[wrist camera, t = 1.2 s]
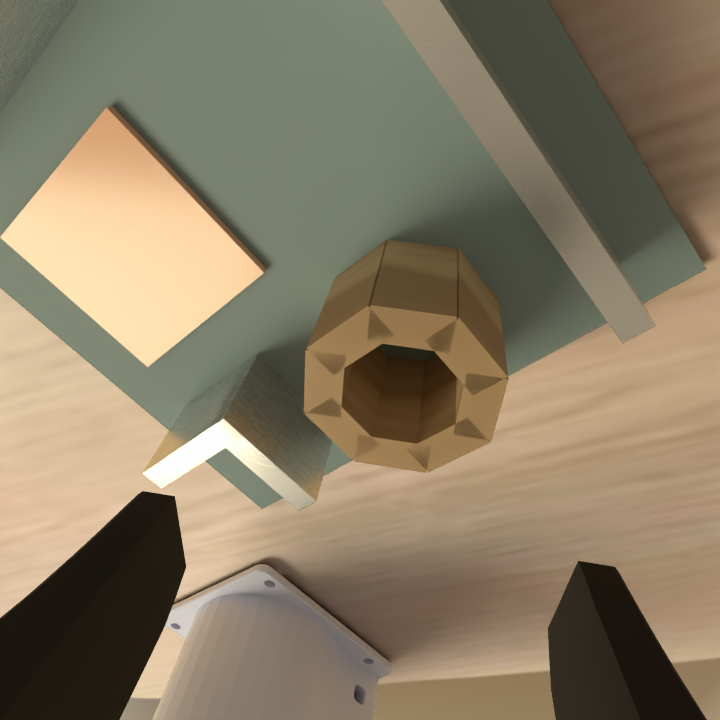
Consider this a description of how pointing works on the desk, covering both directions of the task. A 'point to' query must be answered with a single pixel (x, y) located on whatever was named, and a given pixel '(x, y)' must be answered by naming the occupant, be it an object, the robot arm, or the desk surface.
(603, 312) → the metal walled tray
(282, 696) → the robot arm
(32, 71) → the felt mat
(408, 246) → the oak ring
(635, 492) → the desk surface
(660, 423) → the desk surface
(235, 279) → the pad
